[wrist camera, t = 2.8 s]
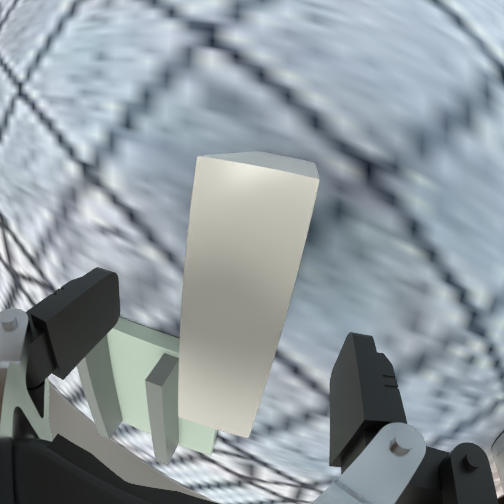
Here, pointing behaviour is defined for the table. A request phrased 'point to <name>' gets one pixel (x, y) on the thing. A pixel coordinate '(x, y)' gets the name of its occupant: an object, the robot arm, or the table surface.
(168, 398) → the dish rack
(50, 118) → the table surface
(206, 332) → the cream rectangular prism
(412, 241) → the table surface
